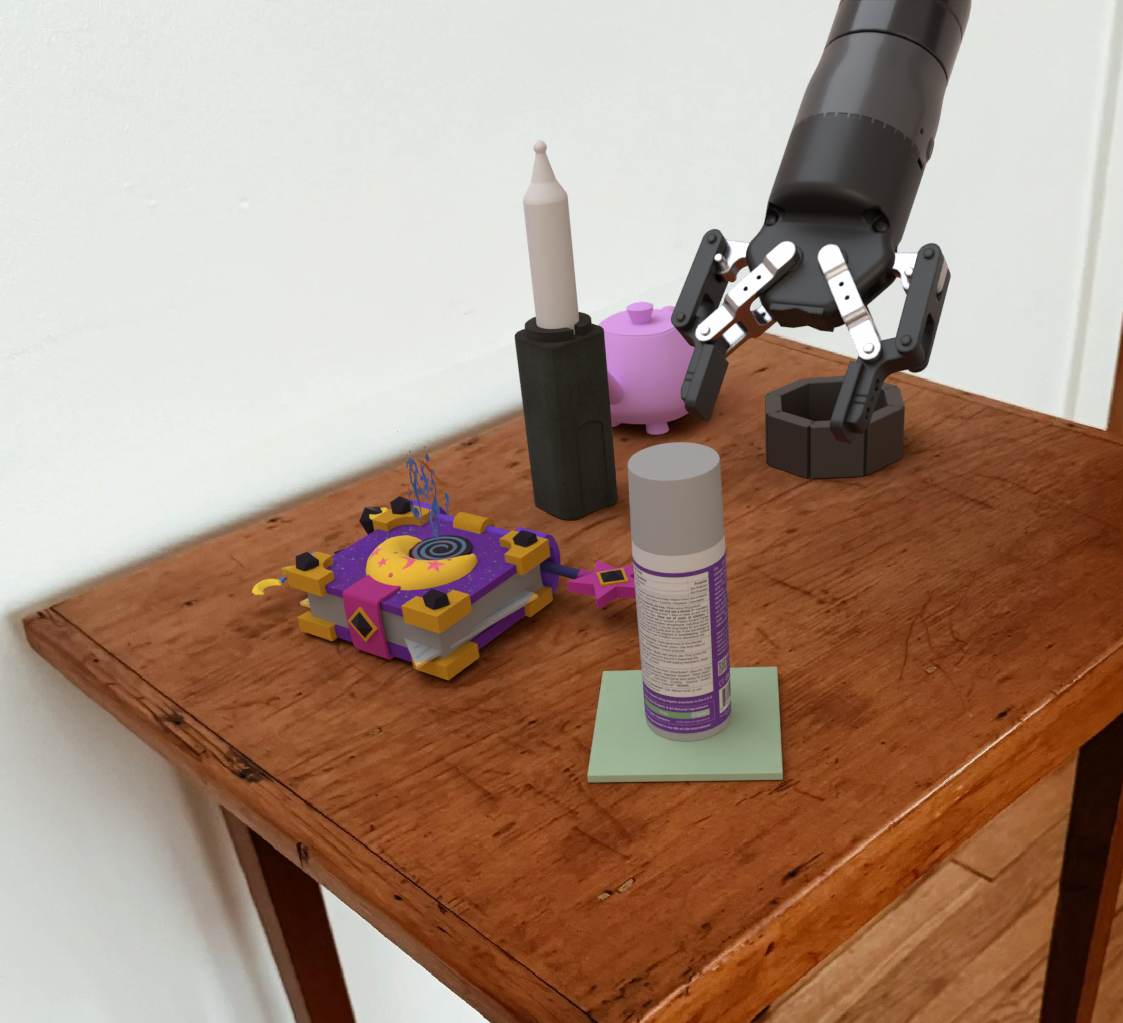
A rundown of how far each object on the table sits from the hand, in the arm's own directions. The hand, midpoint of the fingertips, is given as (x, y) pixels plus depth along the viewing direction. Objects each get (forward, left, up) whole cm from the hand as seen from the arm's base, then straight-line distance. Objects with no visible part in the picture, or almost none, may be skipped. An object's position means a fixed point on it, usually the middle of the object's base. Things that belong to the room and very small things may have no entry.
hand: (766, 426), depth 70 cm
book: (+20, -4, -14) cm, 25 cm away
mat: (+5, +8, -14) cm, 17 cm away
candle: (+14, -21, -14) cm, 28 cm away
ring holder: (-5, -28, -14) cm, 31 cm away
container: (+4, +8, -13) cm, 16 cm away
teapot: (+10, -36, -14) cm, 39 cm away
